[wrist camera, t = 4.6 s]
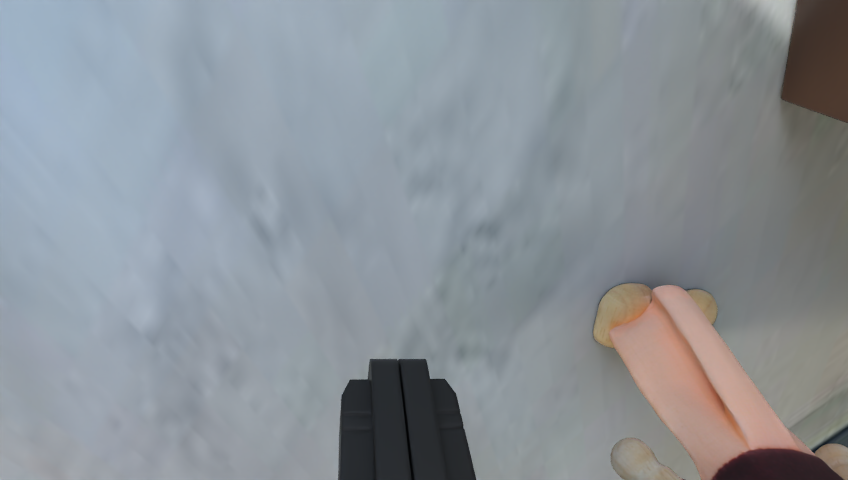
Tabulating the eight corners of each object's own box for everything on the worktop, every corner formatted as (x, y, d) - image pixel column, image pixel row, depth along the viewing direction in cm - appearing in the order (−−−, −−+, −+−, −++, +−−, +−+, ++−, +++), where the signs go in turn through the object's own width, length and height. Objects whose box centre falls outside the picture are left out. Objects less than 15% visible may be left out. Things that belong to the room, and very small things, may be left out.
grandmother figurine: (755, 265, 17) (1447, 813, 6) (716, 347, 19) (1194, 872, 8) (543, 273, 16) (936, 943, 5) (526, 359, 18) (786, 973, 7)
